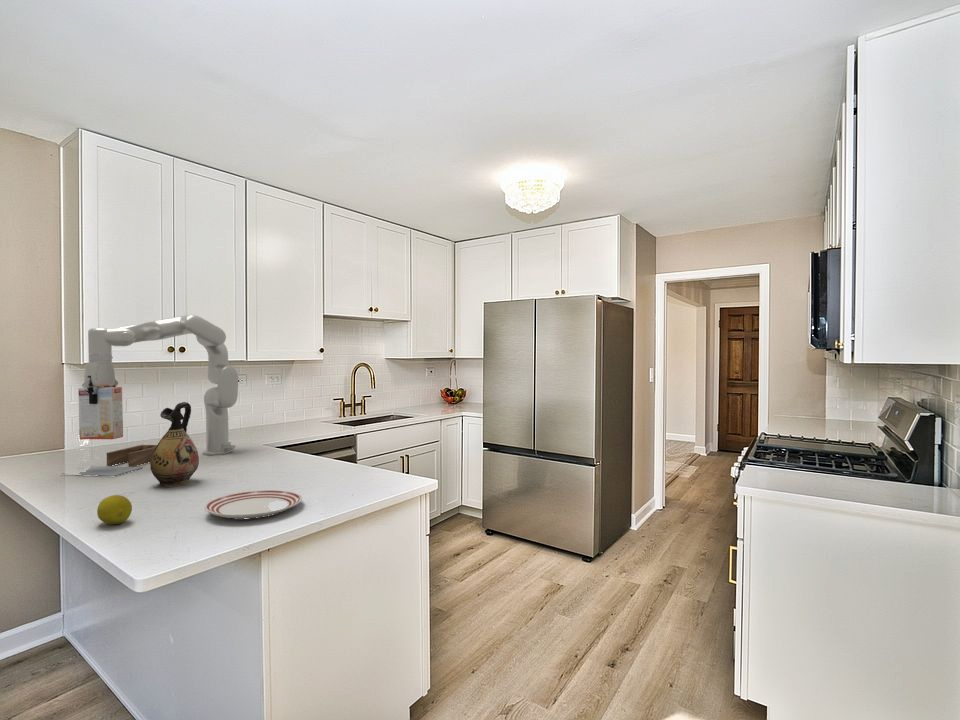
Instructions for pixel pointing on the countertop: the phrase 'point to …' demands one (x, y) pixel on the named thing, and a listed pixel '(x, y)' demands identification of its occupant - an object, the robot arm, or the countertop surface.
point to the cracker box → (101, 414)
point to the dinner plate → (250, 503)
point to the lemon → (114, 509)
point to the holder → (131, 455)
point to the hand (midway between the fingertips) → (101, 402)
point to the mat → (109, 470)
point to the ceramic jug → (175, 450)
